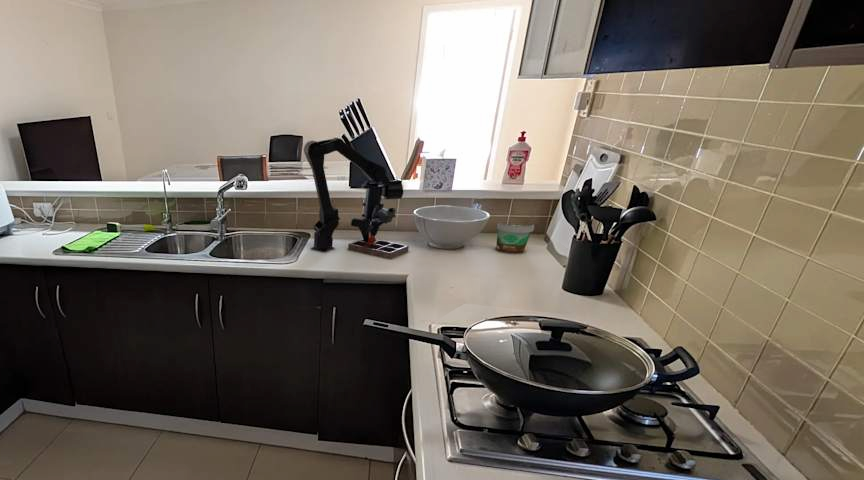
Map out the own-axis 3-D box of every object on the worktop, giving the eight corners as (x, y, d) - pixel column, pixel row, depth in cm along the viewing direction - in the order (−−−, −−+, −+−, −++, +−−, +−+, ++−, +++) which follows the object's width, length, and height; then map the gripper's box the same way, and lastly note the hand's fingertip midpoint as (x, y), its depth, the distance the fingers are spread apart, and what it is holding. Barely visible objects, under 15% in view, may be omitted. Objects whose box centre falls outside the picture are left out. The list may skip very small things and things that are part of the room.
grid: (347, 249, 193) (348, 243, 191) (366, 242, 200) (367, 237, 199) (389, 259, 181) (390, 253, 179) (408, 251, 188) (408, 245, 187)
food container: (492, 253, 183) (498, 225, 179) (491, 248, 188) (497, 221, 184) (529, 255, 179) (536, 227, 174) (528, 251, 184) (535, 223, 179)
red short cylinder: (362, 244, 195) (362, 236, 194) (367, 241, 198) (368, 234, 196) (370, 245, 193) (371, 238, 191) (376, 243, 195) (377, 236, 194)
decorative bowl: (398, 247, 194) (401, 215, 188) (425, 232, 211) (430, 203, 205) (468, 259, 178) (475, 225, 172) (492, 242, 196) (499, 210, 190)
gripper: (377, 207, 177) (373, 250, 184) (405, 198, 188) (400, 240, 195) (351, 203, 184) (348, 244, 191) (380, 195, 195) (376, 235, 202)
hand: (369, 241), depth 195 cm, fingers closed on red short cylinder, 4 cm apart
